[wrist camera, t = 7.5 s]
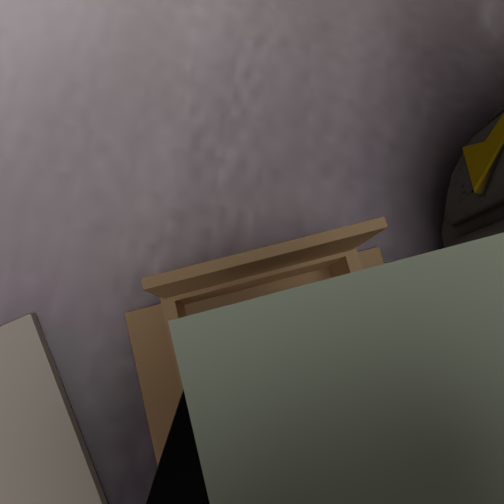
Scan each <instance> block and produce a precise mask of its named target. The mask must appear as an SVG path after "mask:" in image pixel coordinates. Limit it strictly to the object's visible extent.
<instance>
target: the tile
mask: <svg viewBox="0 0 504 504" xmlns="http://www.w3.org/2000/svg"><path fill="white" fill-rule="evenodd" d="M0 504H108V503H107V500H106V498H105V495H104V492H103V490H102V487H101V485H100V482H99V479H98V477H97V474H96V471H95V469H94V466H93V464H92V461H91V458H90V456H89V453H88V450H87V448H86V445H85V442H84V440H83V437H82V435H81V432H80V429H79V427H78V424H77V421H76V419H75V416H74V414H73V411H72V408H71V406H70V403H69V400H68V398H67V395H66V392H65V390H64V387H63V385H62V382H61V379H60V377H59V374H58V371H57V369H56V366H55V363H54V361H53V358H52V356H51V353H50V350H49V348H48V345H47V342H46V340H45V337H44V335H43V332H42V329H41V327H40V324H39V321H38V319H37V316H36V314H31V313H30V314H28V315H26V316H23V317H21V318H19V319H17V320H14V321H12V322H10V323H7V324H5V325H3V326H1V327H0Z"/></svg>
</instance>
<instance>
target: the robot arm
mask: <svg viewBox="0 0 504 504" xmlns="http://www.w3.org/2000/svg"><path fill="white" fill-rule="evenodd" d="M145 504H210V503H209V498H208V494H207V490H206V485H205V481H204V477H203V472H202V468H201V463H200V459H199V455H198V450H197V446H196V442H195V437H194V433H193V428H192V424H191V420H190V415H189V411H188V407H187V402H186V398H185V393H184V389H183V391H182V394H181V397H180V400H179V403H178V406H177V409H176V412H175V415H174V418H173V421H172V424H171V427H170V430H169V433H168V436H167V439H166V442H165V445H164V448H163V451H162V454H161V457H160V460H159V463H158V466H157V469H156V472H155V475H154V478H153V481H152V484H151V487H150V490H149V493H148V497H147V500H146V503H145Z"/></svg>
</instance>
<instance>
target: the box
mask: <svg viewBox="0 0 504 504" xmlns="http://www.w3.org/2000/svg"><path fill="white" fill-rule="evenodd" d="M168 324H169V328H170V332H171V337H172V341H173V345H174V350H175V354H176V359H177V363H178V367H179V372H180V376H181V380H182V385H183V389H184V393H185V398H186V402H187V407H188V411H189V415H190V420H191V424H192V428H193V433H194V437H195V442H196V446H197V450H198V455H199V459H200V463H201V468H202V472H203V477H204V481H205V485H206V490H207V494H208V498H209V503H210V504H504V232H503V233H500V234H496V235H492V236H488V237H484V238H481V239H477V240H473V241H469V242H466V243H462V244H458V245H454V246H450V247H447V248H443V249H439V250H435V251H431V252H428V253H424V254H420V255H416V256H412V257H409V258H405V259H401V260H397V261H394V262H390V263H386V264H382V265H378V266H375V267H371V268H367V269H363V270H359V271H356V272H352V273H348V274H344V275H341V276H337V277H333V278H329V279H325V280H322V281H318V282H314V283H310V284H306V285H303V286H299V287H295V288H291V289H287V290H284V291H280V292H276V293H272V294H269V295H265V296H261V297H257V298H253V299H250V300H246V301H242V302H238V303H234V304H231V305H227V306H223V307H219V308H215V309H212V310H208V311H204V312H200V313H197V314H193V315H189V316H185V317H181V318H178V319H174V320H170V321H168Z"/></svg>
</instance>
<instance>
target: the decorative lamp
mask: <svg viewBox="0 0 504 504" xmlns="http://www.w3.org/2000/svg"><path fill="white" fill-rule="evenodd" d="M462 149H463V153H462V155H461V157H460V159H459V161H458V163H457V165H456V167H455V169H454V171H453V173H452V175H451V180H450V185H449V187H448V191H447V198H446V205H445V212H444V219H443V226H442V233H441V234H442V239H443V245H444V248H447V247H450V246H454V245H458V244H462V243H466V242H469V241H473V240H477V239H481V238H484V237H488V236H492V235H496V234H500V233H503V232H504V106H502V107H501V108H500V109H499V110H498V111H496V112H495V113H494V114H493V115H492V116H491V118H490V119H489V124H488V125H487V126H486V127H485V128H483V129H482V130H481V131H480V132H478V133H477V134H476V135H475V136H474V137H473V138H472V139H471V140H470V141H469V143H468V144H467V146H465V147H462Z"/></svg>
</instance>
